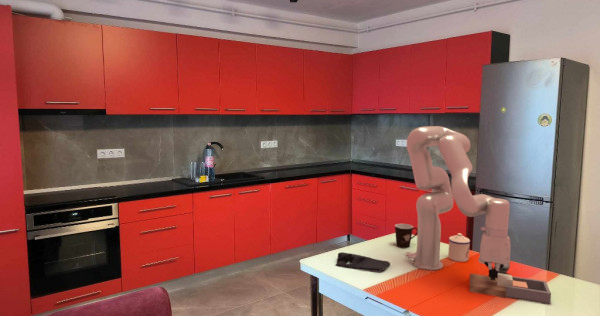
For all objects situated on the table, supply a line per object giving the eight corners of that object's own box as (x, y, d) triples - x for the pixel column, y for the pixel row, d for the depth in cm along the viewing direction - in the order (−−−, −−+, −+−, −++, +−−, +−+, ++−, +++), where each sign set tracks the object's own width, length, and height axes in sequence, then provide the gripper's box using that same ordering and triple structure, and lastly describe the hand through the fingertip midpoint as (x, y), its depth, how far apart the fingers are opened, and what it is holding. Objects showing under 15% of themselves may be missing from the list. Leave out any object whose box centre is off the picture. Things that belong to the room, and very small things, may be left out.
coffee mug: (394, 248, 198) (395, 228, 197) (393, 242, 207) (394, 223, 206) (419, 249, 197) (420, 229, 195) (417, 243, 205) (418, 224, 204)
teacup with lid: (470, 263, 180) (472, 237, 179) (448, 261, 182) (450, 235, 181) (466, 253, 192) (468, 229, 190) (446, 251, 194) (447, 228, 193)
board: (469, 291, 152) (470, 285, 152) (469, 279, 163) (470, 273, 163) (505, 297, 148) (506, 291, 147) (503, 284, 159) (503, 278, 158)
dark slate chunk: (381, 276, 166) (382, 265, 166) (332, 266, 177) (332, 255, 176) (392, 264, 180) (392, 253, 179) (346, 255, 190) (346, 245, 190)
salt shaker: (511, 277, 165) (513, 248, 164) (495, 276, 166) (497, 247, 165) (506, 271, 171) (508, 244, 170) (491, 270, 172) (493, 243, 171)
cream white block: (496, 285, 152) (497, 277, 151) (496, 280, 156) (497, 272, 156) (512, 288, 150) (512, 280, 150) (510, 282, 155) (511, 275, 154)
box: (505, 297, 148) (506, 286, 148) (503, 285, 158) (503, 275, 158) (550, 304, 143) (551, 293, 142) (544, 291, 153) (545, 281, 152)
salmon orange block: (511, 293, 150) (512, 285, 150) (510, 287, 155) (511, 280, 154) (527, 295, 148) (527, 287, 148) (525, 290, 153) (526, 282, 152)
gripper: (474, 232, 151) (471, 279, 154) (519, 237, 146) (515, 286, 148) (474, 226, 158) (471, 272, 161) (517, 231, 152) (514, 278, 155)
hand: (492, 279), depth 154 cm, fingers closed
